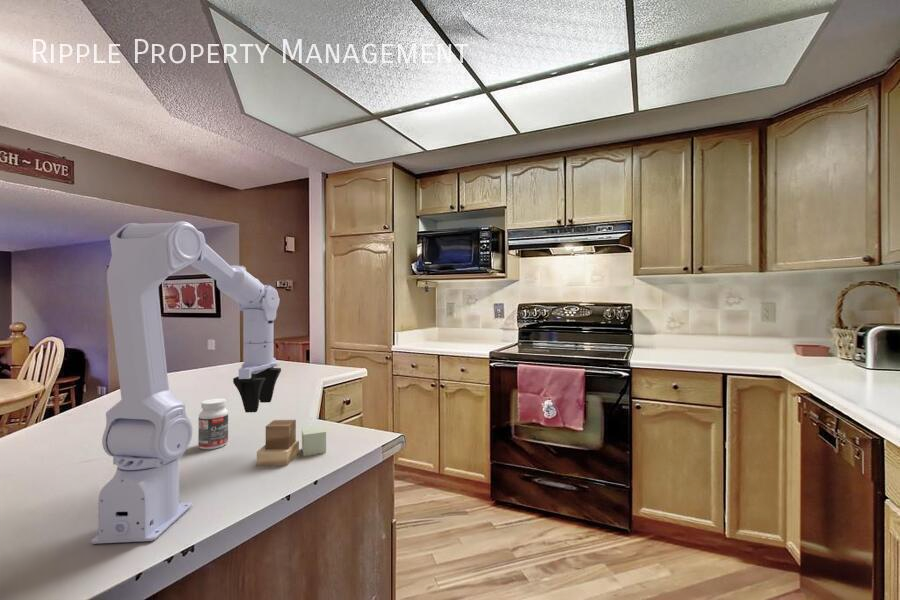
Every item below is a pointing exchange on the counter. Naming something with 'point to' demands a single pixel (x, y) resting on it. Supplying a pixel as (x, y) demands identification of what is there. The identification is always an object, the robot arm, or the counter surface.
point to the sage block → (313, 440)
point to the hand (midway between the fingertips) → (258, 406)
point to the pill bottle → (213, 424)
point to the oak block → (277, 455)
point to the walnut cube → (280, 434)
